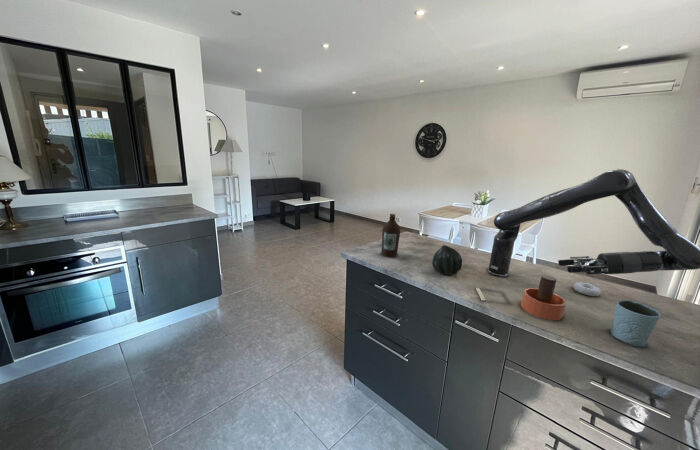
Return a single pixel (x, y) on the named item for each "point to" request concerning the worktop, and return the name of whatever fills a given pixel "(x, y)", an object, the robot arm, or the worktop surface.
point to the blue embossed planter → (634, 322)
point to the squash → (447, 260)
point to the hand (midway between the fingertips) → (563, 266)
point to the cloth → (480, 294)
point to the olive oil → (390, 237)
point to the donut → (586, 289)
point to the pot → (543, 305)
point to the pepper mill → (546, 289)
